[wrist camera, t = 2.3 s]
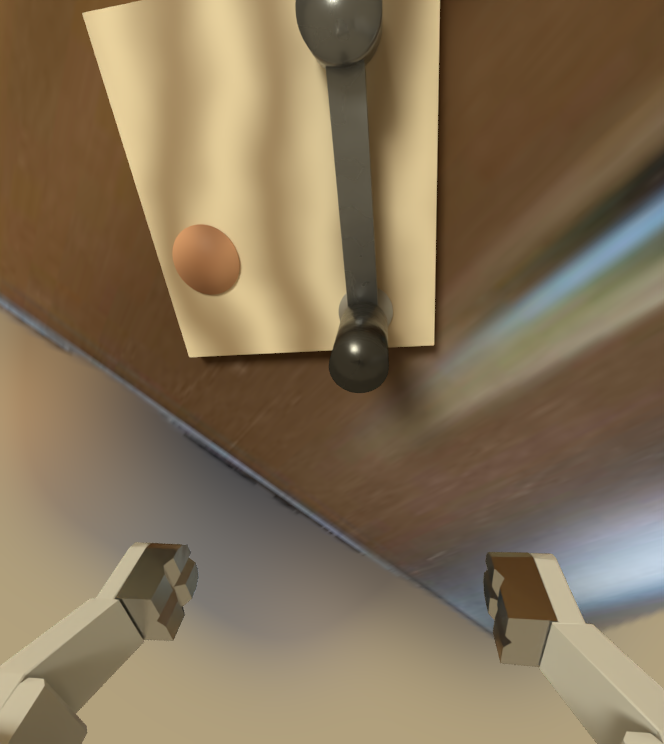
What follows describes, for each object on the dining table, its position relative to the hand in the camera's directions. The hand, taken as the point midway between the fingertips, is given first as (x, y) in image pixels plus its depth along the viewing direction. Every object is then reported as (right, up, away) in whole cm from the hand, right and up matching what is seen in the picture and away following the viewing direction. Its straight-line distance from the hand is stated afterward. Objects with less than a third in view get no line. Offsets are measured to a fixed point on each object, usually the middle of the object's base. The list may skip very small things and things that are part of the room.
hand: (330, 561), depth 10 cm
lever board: (-3, +17, +16) cm, 24 cm away
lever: (+2, +16, +13) cm, 21 cm away
